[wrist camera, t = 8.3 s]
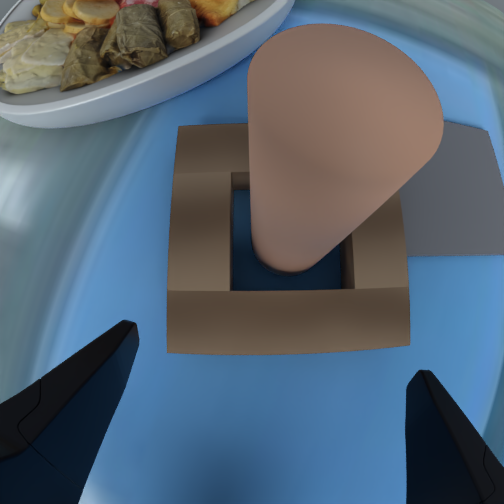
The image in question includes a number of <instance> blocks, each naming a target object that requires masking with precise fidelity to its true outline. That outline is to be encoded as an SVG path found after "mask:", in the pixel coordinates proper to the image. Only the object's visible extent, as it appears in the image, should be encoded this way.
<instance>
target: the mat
mask: <svg viewBox="0 0 504 504" xmlns="http://www.w3.org/2000/svg"><path fill="white" fill-rule="evenodd" d="M399 194H400V201H401V208H402V216H403V224H404V233H405V242H406V253H407V256H473V255H504V186H503V182H502V178H501V174H500V170H499V167H498V163H497V159H496V156H495V153H494V149H493V146H492V143H491V140H490V137H489V134H488V131H485V130H482V129H478V128H473V127H469V126H465V125H461V124H456V123H452V122H447V121H444V127H443V135H442V139H441V142H440V145H439V147H438V149H437V151H436V152H435V154H434V155H433V156H432V158H431V159H430V160H429V161H428V162H427V163H426V164H425V165H424V166H423V167H422V168H421V169H420V170H419V171H417V172H416V173H415V174H414V175H413V176H412V177H411V178H410V179H409V180H408V181H407V182H406V183H405V184H404V185H403V186H402V187H401V188H400V189H399Z"/></svg>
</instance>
